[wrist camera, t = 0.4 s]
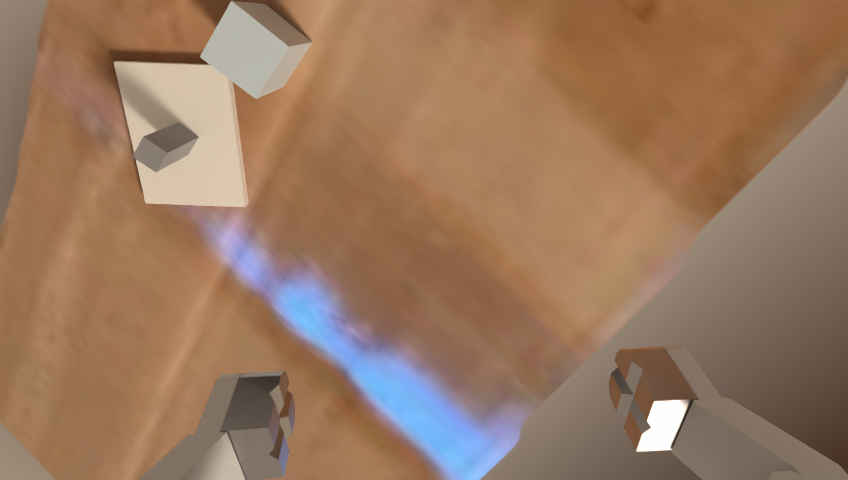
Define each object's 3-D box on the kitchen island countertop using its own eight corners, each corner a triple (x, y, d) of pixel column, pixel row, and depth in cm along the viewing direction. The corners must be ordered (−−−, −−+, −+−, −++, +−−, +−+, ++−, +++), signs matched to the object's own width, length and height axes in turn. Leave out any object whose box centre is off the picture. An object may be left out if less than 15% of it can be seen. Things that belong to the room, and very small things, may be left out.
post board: (120, 60, 51) (67, 67, 44) (230, 64, 51) (196, 72, 44) (151, 199, 58) (109, 226, 51) (248, 203, 58) (221, 230, 51)
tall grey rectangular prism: (265, 3, 49) (231, 0, 41) (312, 42, 50) (288, 46, 42) (237, 50, 51) (199, 56, 43) (283, 86, 52) (255, 98, 44)
